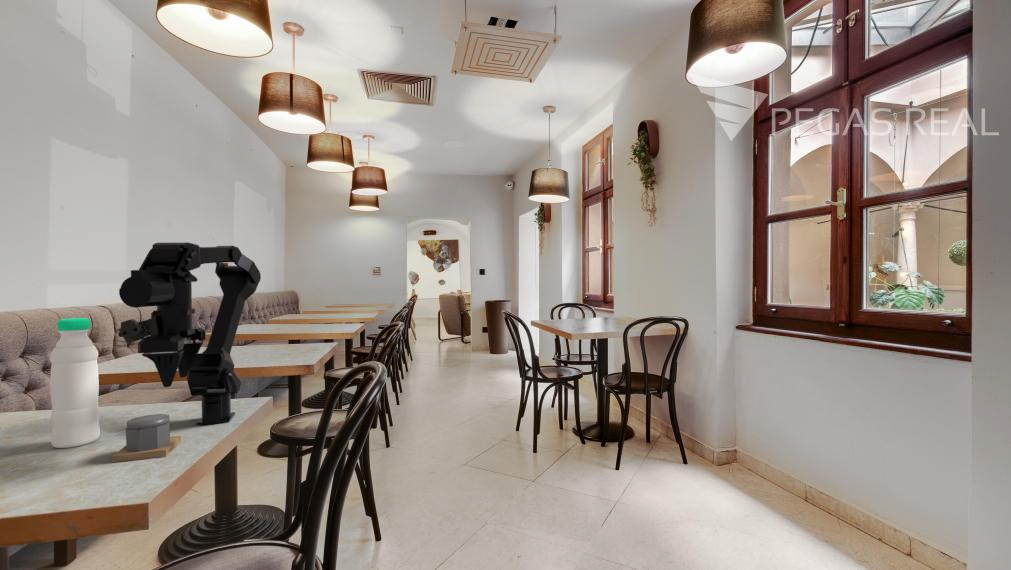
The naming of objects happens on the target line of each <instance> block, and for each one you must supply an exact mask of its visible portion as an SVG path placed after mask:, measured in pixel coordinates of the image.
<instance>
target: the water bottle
mask: <svg viewBox="0 0 1011 570" xmlns="http://www.w3.org/2000/svg"><path fill="white" fill-rule="evenodd" d="M56 324H57V331H58V333H59V334H60V338H59V340H58V341H57V342H56V344H55V347H54V349H52V352H51V353H50V355H49V361H50V363H51V367H50V403H51V407H52V410H51V414H50V422H51V426H52V427H51V428H52V429H51V436H50V437H51V438H50V439H51V441H50V443H51V446H52V447H54V448H56V449H69V448H75V447H76V448H77V447H80V446H84V445H88V444H91V443H93V442H95V441H97V440H98V439H99V437H100V436H101V431H100V430H101V429H100V422H99V418H100V407H99V404H98V401H99V395H100V393H99V391H100V389H99V388H100V387H99V385H100V383H99V381H100V379H99V365H98V358H99V351H98V349H97V347H96V346H95V345H94V344H93V340H92V339H91V338H90V337H89V336H88V332H90V329H91V320H90V319H89V318H87V317H71V318H70V317H69V318H62V319H58V321H57V323H56Z"/></svg>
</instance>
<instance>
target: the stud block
mask: <svg viewBox="0 0 1011 570" xmlns="http://www.w3.org/2000/svg"><path fill="white" fill-rule="evenodd" d="M181 442H182V437H181V435H179V436H177V435H176V436H170V444H167V445H165V446H163V447H160V448H158V449H153V450H147V451H141V452H132V451H126V445H124V447H122V448H121V449H119V450H118V451H117V452H116V453H115V454H113V455H112V463H120V462H129V461H137V460H139V461H140V460H147V459H155V458H164V457H167V456H168V455H169V454H170V453H171V452H173V450H174V449H176V447H177V446H178V445H179V444H181Z"/></svg>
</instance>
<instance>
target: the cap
mask: <svg viewBox="0 0 1011 570" xmlns="http://www.w3.org/2000/svg"><path fill="white" fill-rule="evenodd" d="M170 424H171V423H170V415H169V414H167V413H156V414H154V413H153V414H147V415H142V416H138V417H134V418H131V419H129V420H127V421H126V429H125V433H126V434H125V436H126V437H125V442H126V443H125V444H126V445H125V446H126V451H132V452H141V451H147V450H153V449H158V448H160V447H163V446H165V445H167V444H170V437H171V435H170V434H171V429H170V428H171V427H170Z"/></svg>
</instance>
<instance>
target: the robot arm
mask: <svg viewBox="0 0 1011 570" xmlns="http://www.w3.org/2000/svg"><path fill="white" fill-rule="evenodd" d="M151 246H152V247H151V249H150V250H149V251H148V253H147V254H146V256H145V258H144V260H143V262H142V263H141V265H140V267H139V268H138V269H131V270H130V277H127V278H125V280H124V281H123V282H122V283H121V285H120V288H119V289H118V295H119V297H120V300H121V301H122V303H124V304H125V305H126V306H128V307H131V308H136V309H137V308H147V307H148V308H149V307H150V308H151V307H156V309H155V310H153V311H152V312H151V314H150V318H149V319H145V320H142V321H139V322H138V321H137V320H136V319H134V318H132V319H127V320H125V321H121V323H120V328H118V334H117V335H118V337H119V338H123V340H124V342H125V344H130V343H134V342H137V341H139V342H137V353H138V354H141V356H142V357H144V358H147V359H149V360H151V361H152V362H153V364H154V366H155V368H156V370H157V373H158V376H159V379H160V381H161V383H162V386H163V388H170V387H172V384H173V382H174V379H175V377H176V374H177V371H178V374H179V378H186V381H187V385H188V389H189V391H190V392H189V393H190V395H191V396H192V397H193V396H194V397H195V396H200V397H201V417H200V418H199V420H198V421H196V425H198V426H199V425H208V424H218V423H220V424H221V423H229V422H230V421H231V420H232V419H233V418H234V417H235V415H236V412H232V410H231V409H232V407H231V406H232V404H231V403H232V402H231V401H232V400H231V399H232V398H231V396H232V395H234V394H235V395H236V394H238V393H239V391H241V390H240V389H241V385H242V381H241V379H239V377H238V375H237V374H236V373H235V371H234V369H235V363H234V361H233V358H232V357H231V351H232V348H233V345H234V341H235V338H236V334H237V331H238V327H239V323H240V320H241V317H242V314H243V310H244V306H245V303H246V301H247V300H248V299H249V298H250V297H251V296H253V294H255V292H256V290H257V288H258V286H259V283H260V282H261V271H260V270H259V268H258V267H257V265H256V263H255V261H253V260H252V259H250V258H249V257H247V256H246V255H245V254H243V253H242V251H241V250H240V248H239V247H237V246H235V245H217V246H200V245H199V244H196V243H191V242H155V243H153V244H152V245H151ZM214 263H215V264H216V265H215V270H214V273H215V275H216V276H217V277H218V279H219V286H220V289H221V292H222V294H223V295H222V299H221V302H220V304H219V308H218V311H217V313H216V314H217V315H216V317H215V319H214V320H215V321H214V323H213V325H212V326H213V327H212V329H211V330H212V331H211V333H210V336H209V339H208V343H207V346H206V348H205V350H204V351H202V352H201V353H199V352H200V349H201V348H202V346H203V345H204V341H205V340H206V331H205V330H204V329H203V327H200V326H197V327H195V326H194V327H193V314H196V308H193V306H192V305H193V300H192V299H193V296H192V294H193V293H192V283H193V282H195V283H196V282H198V278H197V277H196V276H195V275H194V274H193V273H191V271H192V270H195V269H198V268H200V267H201V265H204V264H214ZM225 263H234V265H227V266H226V265H225ZM197 340H198V341H197Z"/></svg>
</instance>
